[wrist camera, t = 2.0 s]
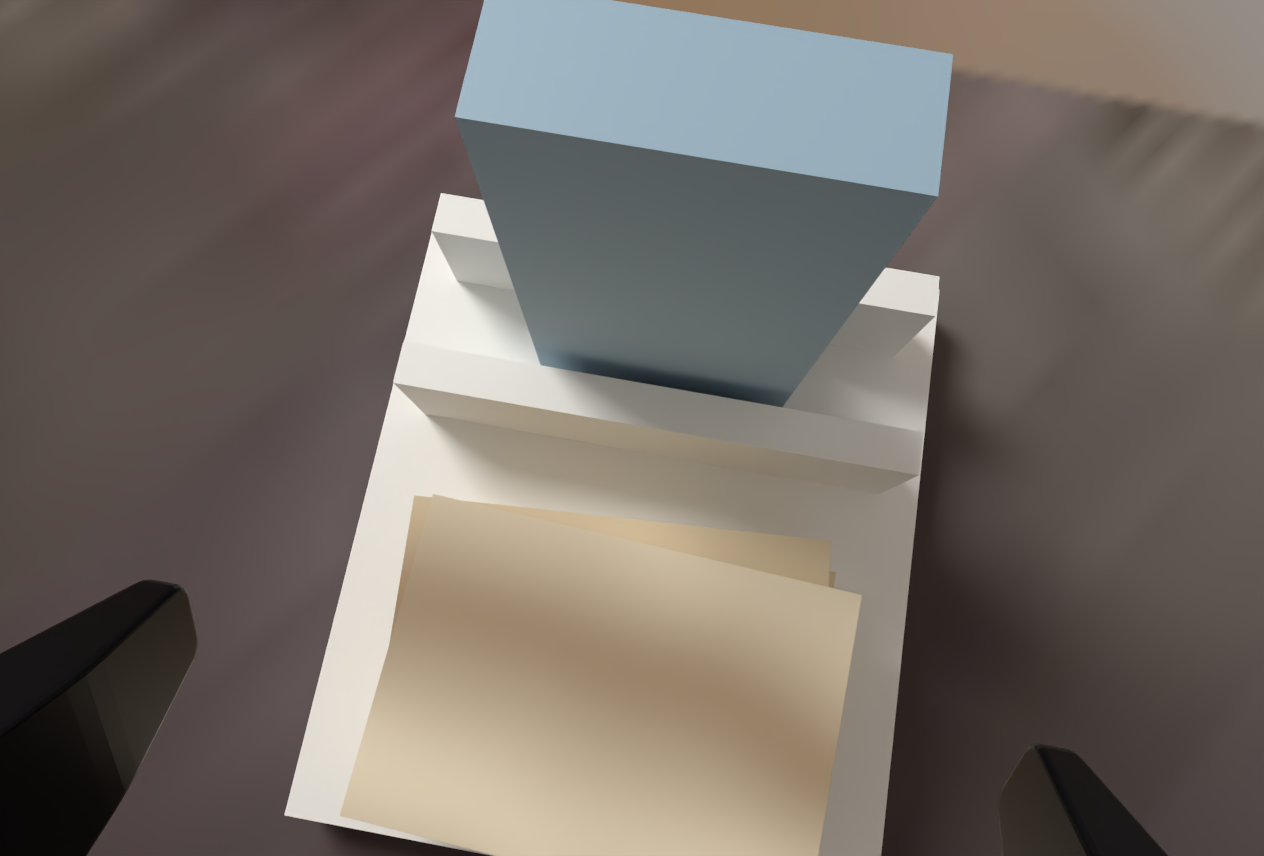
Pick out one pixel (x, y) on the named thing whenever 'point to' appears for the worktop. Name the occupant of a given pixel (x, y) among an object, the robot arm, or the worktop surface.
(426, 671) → the offcut stack
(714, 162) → the blue rectangular block
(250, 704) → the worktop surface
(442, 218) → the rack
